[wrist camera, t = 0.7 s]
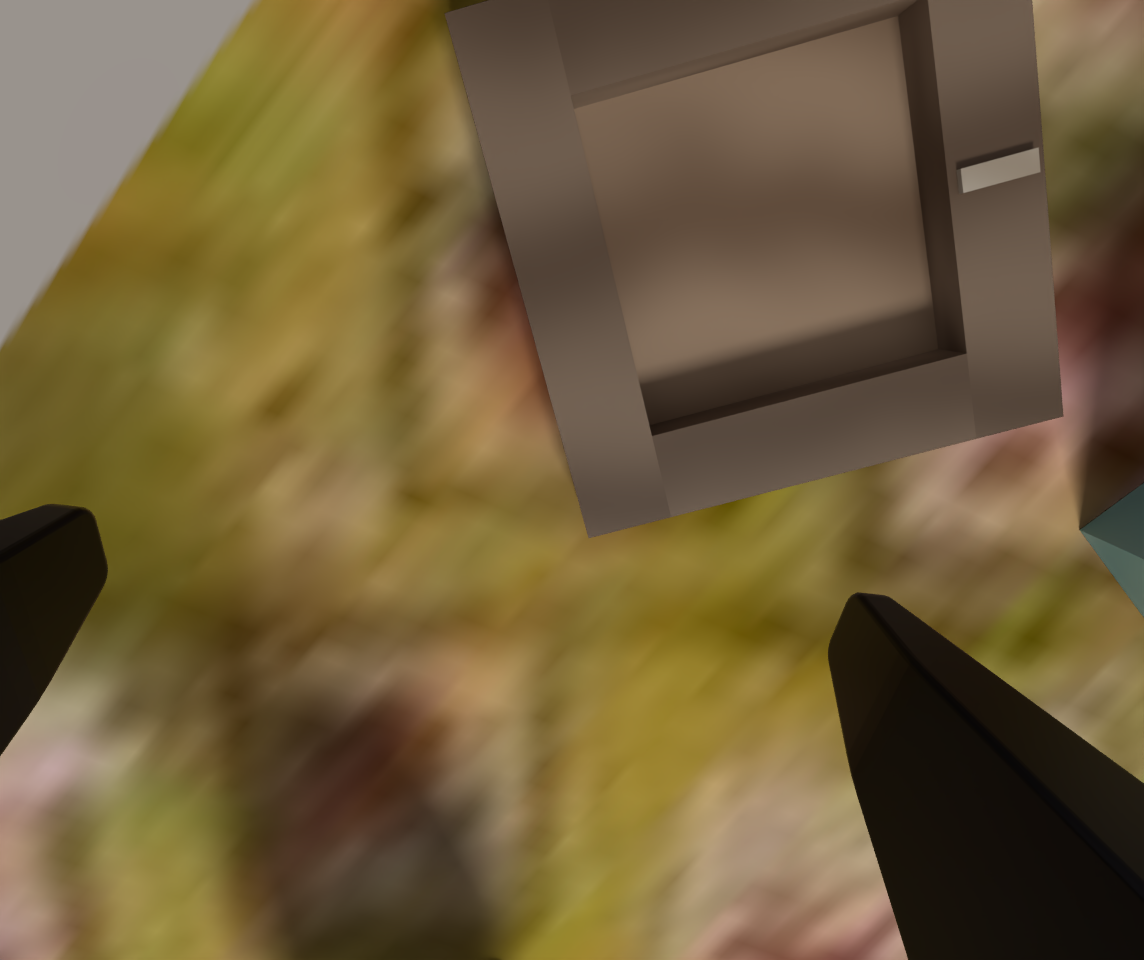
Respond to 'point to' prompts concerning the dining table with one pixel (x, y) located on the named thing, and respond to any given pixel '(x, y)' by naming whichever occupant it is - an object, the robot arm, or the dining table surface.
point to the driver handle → (1122, 543)
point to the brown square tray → (768, 233)
